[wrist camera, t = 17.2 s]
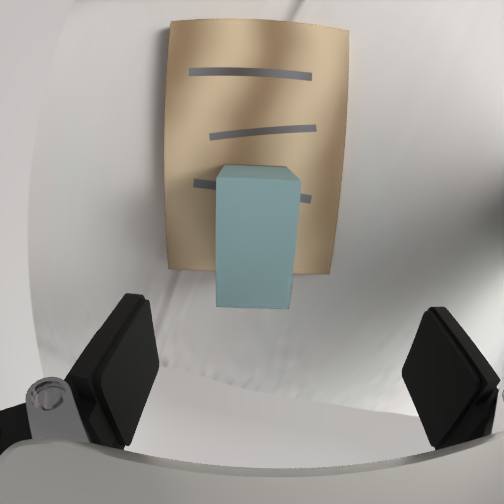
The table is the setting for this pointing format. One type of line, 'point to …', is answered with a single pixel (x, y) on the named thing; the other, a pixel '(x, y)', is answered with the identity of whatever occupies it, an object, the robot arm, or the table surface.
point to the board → (253, 126)
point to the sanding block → (256, 235)
